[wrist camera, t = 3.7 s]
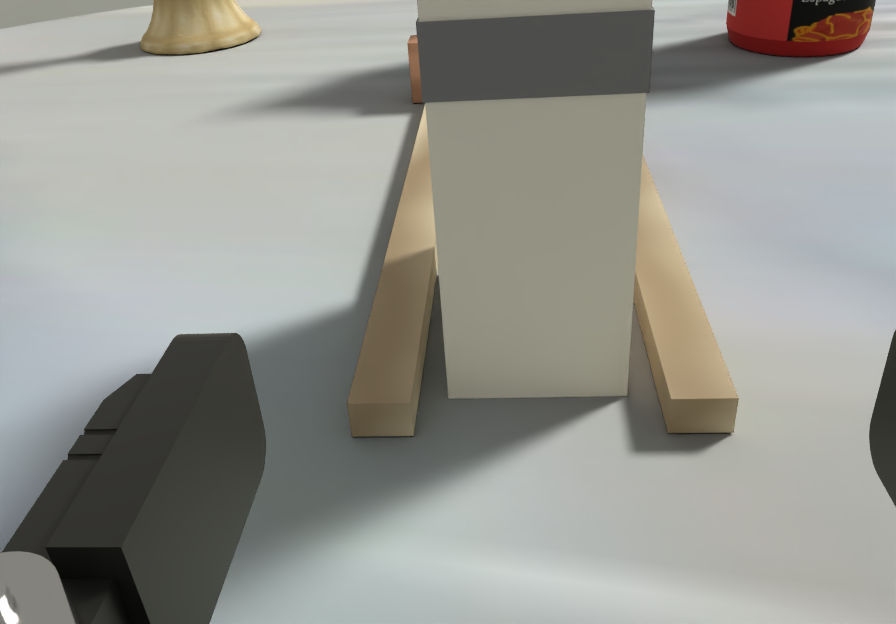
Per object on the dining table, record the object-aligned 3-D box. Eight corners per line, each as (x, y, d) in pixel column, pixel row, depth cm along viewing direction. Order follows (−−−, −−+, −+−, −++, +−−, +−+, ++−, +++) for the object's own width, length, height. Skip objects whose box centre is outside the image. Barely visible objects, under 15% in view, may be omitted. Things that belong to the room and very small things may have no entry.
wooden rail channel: (626, 84, 43) (629, 24, 41) (777, 431, 19) (798, 322, 18) (415, 93, 44) (410, 35, 42) (311, 436, 20) (291, 333, 18)
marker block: (601, 262, 27) (615, -120, 21) (629, 397, 21) (660, -88, 15) (459, 266, 27) (435, -108, 21) (446, 399, 21) (408, -73, 15)
